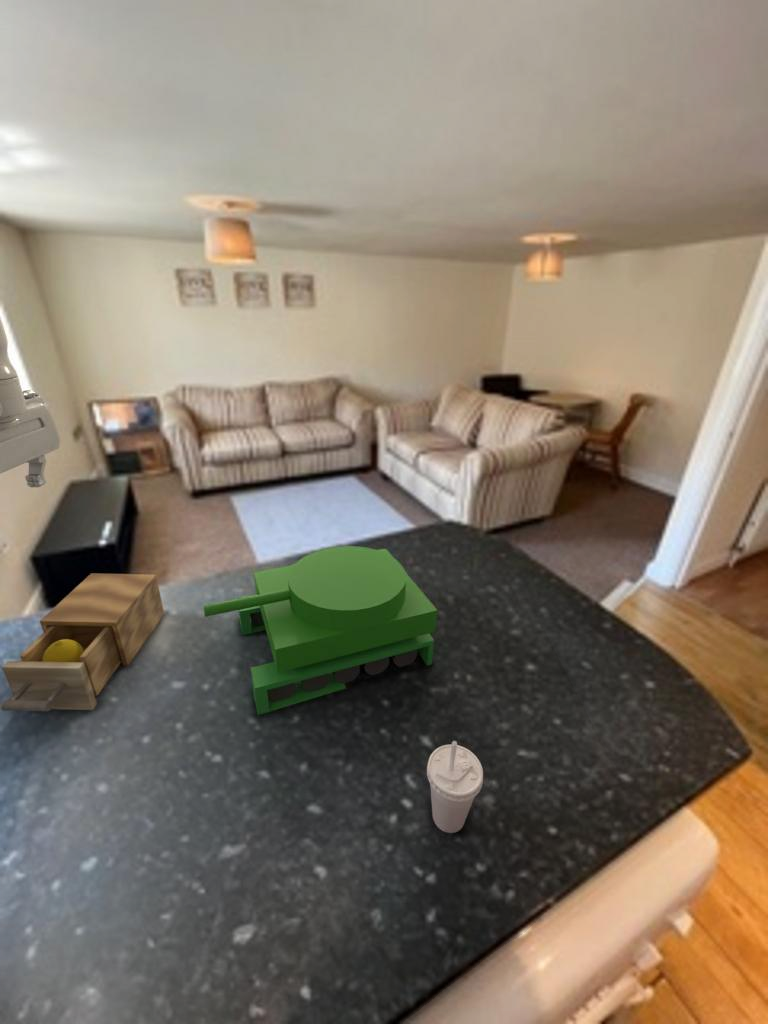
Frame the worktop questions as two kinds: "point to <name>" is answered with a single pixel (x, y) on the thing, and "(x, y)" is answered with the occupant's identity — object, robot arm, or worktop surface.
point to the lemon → (63, 651)
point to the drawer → (62, 671)
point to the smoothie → (453, 785)
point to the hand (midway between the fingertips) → (14, 497)
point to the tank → (332, 622)
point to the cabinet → (113, 608)
